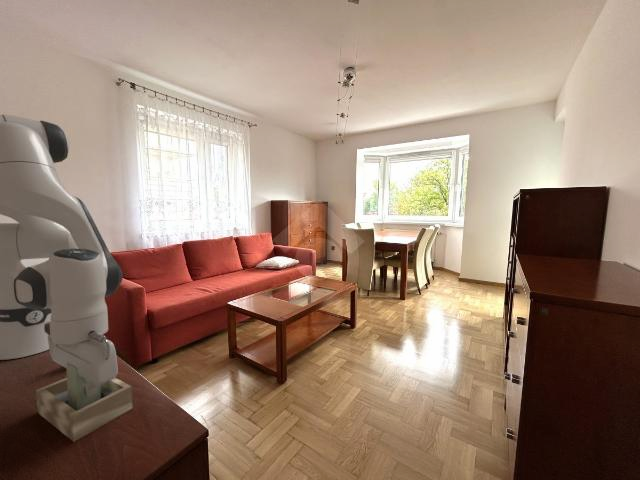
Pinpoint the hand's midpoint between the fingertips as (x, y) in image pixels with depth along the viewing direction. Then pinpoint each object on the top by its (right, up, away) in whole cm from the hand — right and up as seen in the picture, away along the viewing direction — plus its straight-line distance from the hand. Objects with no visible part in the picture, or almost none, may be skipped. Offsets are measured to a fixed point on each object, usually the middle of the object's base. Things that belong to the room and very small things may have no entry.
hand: (84, 389), depth 57 cm
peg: (0, -4, 0) cm, 4 cm away
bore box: (0, -5, 0) cm, 5 cm away
